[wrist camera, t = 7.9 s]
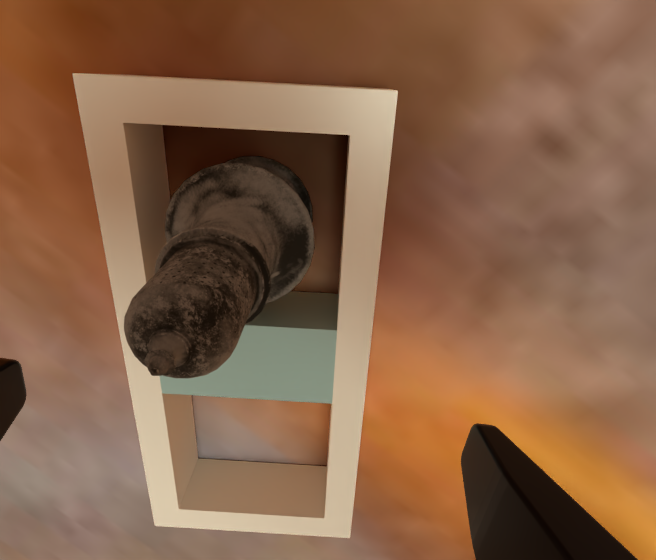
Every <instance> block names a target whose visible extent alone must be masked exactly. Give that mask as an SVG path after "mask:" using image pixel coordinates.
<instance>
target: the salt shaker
mask: <svg viewBox="0 0 656 560" xmlns="http://www.w3.org/2000/svg"><path fill="white" fill-rule="evenodd" d="M312 222H313V215H312V204H311V201H310V197H309V194H308V191H307V190H306V188H305V187H304V185H303V183H302V182H301V180H300V179H299V178H298V177H297V176H296V175H295V174H294V173H293V172H292V171H291V170H290V169H289V168H288V167H286V166H284V165H282V164H280V163H279V162H277V161H275V160H272V159H268V158H264V157H261V156H242V157H239V158H236V159H232V160H229V161H227V162H226V163H221V164H218V165H214V166H211V167H208V168H204V169H202V170H200V171H199V172H197V173H196V174H194V175H193V176H191V177H189V178H188V179H186V180H185V181H184V182H183V184H182V185H181V186H180V187H179V188H178V190H177V191H176V192H175V193H174V195H173V197H172V199H171V201H170V204H169V206H168V209H167V211H166V219H165V230H164V231H165V236H166V242H167V243H166V244H165V246H164V247H163V248H162V249H161V251H160V253H159V255H158V258H157V260H156V264H155V274H154V276H153V277H152V278H151V279H150V280H149V281H148V282H147V283H146V284H145V285H144V286H143V287H142V288H141V289H140V290H139V291H138V293H137V294H136V295H135V296H134V297H133V298H132V300H131V302H130V305H129V307H128V310H127V312H126V314H125V317H124V332H125V336H126V340H127V343H128V345H129V347H130V349H131V350H132V352H133V354H134V356H135V357H136V358H137V359H138V360H139V361H140V362H141V363H142V364H143V365H144V366H146V367H147V368H148V371H149V372H150V374H151V375H152V376H162V375H163V376H166V377H171V378H195V377H199V376H204V375H207V374H209V373H211V372H213V371H215V370H217V369H218V368H219V367H220V366H221V365H222V364H224V363H225V362H226V361H227V360H228V358H229V357H230V356H231V355H232V353H233V351H234V349H235V348H236V346H237V343H238V341H239V338H240V336H241V333H242V331H243V328H244V326H245V324H247V323H249V322H251V321H252V320H253V319H255V318H256V317H257V316H258V315H259V314H260V313H261V312H262V310H263V308H264V307H265V305H266V303H268V302H272V301H275V300H277V299H278V298H280V297H282V296H284V295H286V294H288V293H289V292H290V291H291V290H292V289H293V288H294V287H295V286H297V285H298V284H299V283H300V282H301V281H302V279H303V277H304V275H305V274H306V272H307V270H308V269H309V267H310V264H311V260H312V256H313V252H314V248H315V247H314V228H313V225H312Z"/></svg>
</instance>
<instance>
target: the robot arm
mask: <svg viewBox="0 0 656 560" xmlns="http://www.w3.org/2000/svg"><path fill="white" fill-rule="evenodd" d="M25 400H26V388H25V383H24V378H23V373H22V367H21V364H20V363H19V362H18V361H16V360H13V359H6V358H0V441H1V439H2V438H3V436H4V435H5V433H6V432H7V430H8V429H9V427H10V425H11V424H12V422H13V421H14V419H15V418H16V416H17V415H18V413H19V412H20V410H21V409H22V407H23V405H24V403H25ZM461 467H462V474H463V481H464V489H465V496H466V503H467V511H468V518H469V525H470V532H471V538H472V544H473V548H474V553H475V557H476V560H638V559H636V558H635V557H634V556H633V555H632V554H631V553H630V552H629V551H628V550H627V549H626V548H625V547H624V546H623V545H622V544H620V543H619V542H618V541H617V540H616V539H615V538H614V537H613V536H612V535H611V534H610V533H609V532H608V531H607V530H606V529H605V528H603V527H602V526H601V525H600V524H599V523H598V522H597V521H596V520H595V519H594V518H593V517H592V516H591V515H590V514H589V513H587V512H586V511H585V510H584V509H583V508H582V507H581V506H580V505H579V504H578V503H577V502H576V501H575V500H574V499H573V498H572V497H570V496H569V495H568V494H567V493H566V492H565V491H564V490H563V489H562V488H561V487H560V486H559V485H558V484H557V483H556V482H554V481H553V480H552V479H551V478H550V477H549V476H548V475H547V474H546V473H545V472H544V471H543V470H542V469H541V468H540V467H539V466H537V465H536V464H535V463H534V462H533V461H532V460H531V459H530V458H529V457H528V456H527V455H526V454H525V453H524V452H523V451H521V450H520V449H519V448H518V447H517V446H516V445H515V444H514V443H513V442H512V441H511V440H510V439H509V438H508V437H507V436H505V435H504V434H503V433H502V432H501V431H500V430H499V429H498V428H497V427H495V426H492V425H486V424H478V423H477V424H474V425H473V426H472V428H471V430H470V433H469V435H468V438H467V441H466V444H465V446H464V449H463V452H462V456H461Z"/></svg>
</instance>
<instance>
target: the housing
mask: <svg viewBox="0 0 656 560" xmlns="http://www.w3.org/2000/svg"><path fill="white" fill-rule="evenodd" d="M72 75H73V80H74V86H75V91H76V97H77V102H78V108H79V113H80V119H81V124H82V130H83V135H84V141H85V146H86V151H87V157H88V162H89V168H90V173H91V179H92V184H93V190H94V195H95V201H96V206H97V212H98V217H99V223H100V228H101V234H102V239H103V245H104V250H105V256H106V261H107V266H108V272H109V277H110V283H111V288H112V294H113V299H114V305H115V310H116V316H117V321H118V327H119V332H120V338H121V343H122V349H123V354H124V360H125V365H126V371H127V376H128V382H129V387H130V392H131V398H132V403H133V409H134V414H135V420H136V425H137V431H138V436H139V442H140V447H141V453H142V458H143V464H144V469H145V475H146V480H147V486H148V491H149V497H150V502H151V507H152V513H153V518H154V524H155V526H167V527H182V528H198V529H214V530H230V531H245V532H261V533H277V534H293V535H308V536H324V537H340V538H350V533H351V524H352V515H353V505H354V496H355V487H356V477H357V468H358V459H359V449H360V440H361V431H362V421H363V412H364V403H365V393H366V384H367V375H368V365H369V356H370V347H371V337H372V328H373V319H374V309H375V300H376V291H377V281H378V272H379V263H380V253H381V244H382V235H383V225H384V216H385V207H386V197H387V188H388V179H389V169H390V160H391V151H392V141H393V132H394V123H395V113H396V104H397V95H398V91H397V90H392V89H384V88H366V87H347V86H329V85H310V84H291V83H273V82H254V81H235V80H217V79H198V78H179V77H161V76H142V75H123V74H85V73H72ZM162 125H175V126H193V127H211V128H230V129H248V130H266V131H285V132H303V133H321V134H340V135H348V148H347V164H346V179H345V194H344V210H343V225H342V240H341V256H340V271H339V286H338V294H334V293H316V292H299V291H290V292H289V293H288V294H286V295H284V296H282V297H280V298H278V299H277V300H275V301H272V302H268V303H266V305H265V307H264V308H263V310H262V312H261V313H260V314H259V315H258V316H257V317H256V318H255V319H253V320H252V321H251V322H249V323H247V324H245V326H244V328H243V331H242V333H241V336H240V338H239V341H238V343H237V346H236V348H235V349H234V351H233V353H232V355H231V356H230V357H229V358H228V360H227V361H226V362H225V363H224V364H222V365H221V366H220V367H219V368H218V369H217V370H215V371H213V372H211V373H209V374H207V375H204V376H199V377H195V378H171V377H166V376H163V375H162V376H152V375H151V374H150V372H149V371H148V368H147V367H146V366H144V365H143V364H142V363H141V362H140V361H139V360H138V359H137V358H136V357H135V356H134V354H133V352H132V350H131V349H130V347H129V345H128V343H127V340H126V336H125V332H124V317H125V314H126V312H127V310H128V307H129V305H130V302H131V300H132V298H133V297H134V296H135V295H136V294H137V293H138V291H139V290H140V289H141V288H142V287H143V286H144V285H145V284H146V283H147V282H148V281H149V280H150V279H151V278H152V277H153V276H154V274H155V264H156V260H157V258H158V255H159V253H160V251H161V249H162V248H163V247H164V246H165V244H166V243H167V242H166V236H165V231H164V230H165V219H166V211H167V209H168V206H169V204H170V192H169V182H168V173H167V164H166V155H165V145H164V136H163V127H162ZM191 395H197V396H214V397H230V398H247V399H263V400H280V401H296V402H313V403H329V404H331V409H330V424H329V440H328V455H327V466H312V465H296V464H280V463H264V462H248V461H232V460H215V459H199V458H198V451H197V442H196V433H195V424H194V414H193V405H192V396H191Z"/></svg>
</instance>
